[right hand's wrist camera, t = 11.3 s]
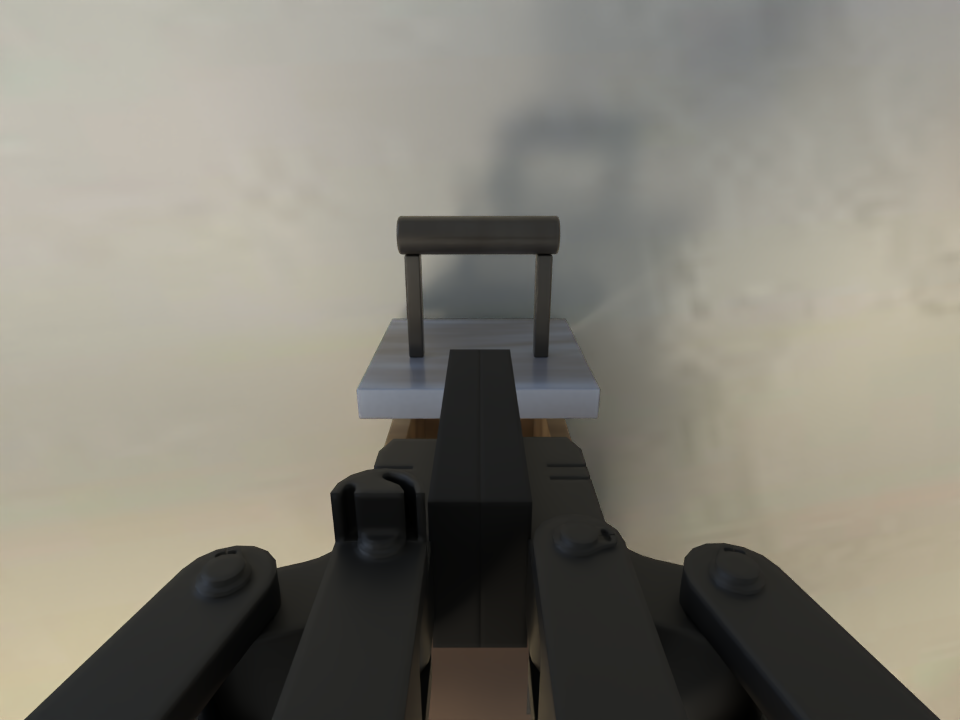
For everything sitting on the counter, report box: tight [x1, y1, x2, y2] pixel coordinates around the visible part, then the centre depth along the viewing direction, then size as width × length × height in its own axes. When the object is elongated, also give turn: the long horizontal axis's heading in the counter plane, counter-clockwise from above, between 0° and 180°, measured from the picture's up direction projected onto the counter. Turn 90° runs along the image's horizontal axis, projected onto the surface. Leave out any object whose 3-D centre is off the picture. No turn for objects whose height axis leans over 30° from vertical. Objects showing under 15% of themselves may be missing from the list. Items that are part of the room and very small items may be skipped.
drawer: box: [357, 216, 600, 447], centre depth 27 cm, size 24×9×9 cm, turn 0°
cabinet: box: [429, 636, 532, 720], centre depth 31 cm, size 20×10×11 cm, turn 0°
